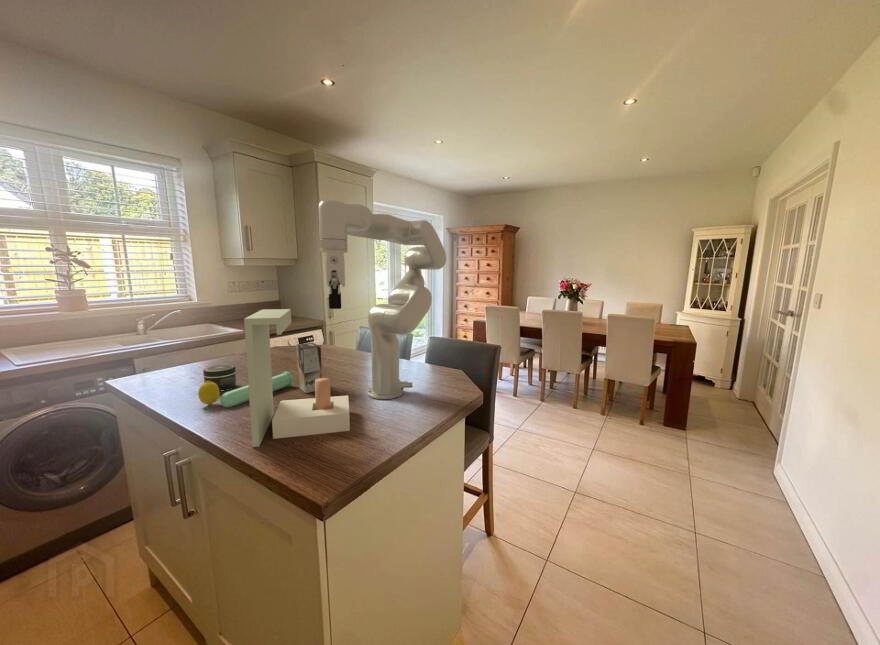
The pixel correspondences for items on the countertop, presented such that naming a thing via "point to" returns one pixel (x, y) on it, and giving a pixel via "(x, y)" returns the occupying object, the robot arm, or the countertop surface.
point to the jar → (221, 376)
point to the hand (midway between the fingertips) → (335, 307)
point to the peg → (322, 393)
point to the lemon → (208, 393)
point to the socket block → (310, 417)
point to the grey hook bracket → (261, 366)
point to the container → (243, 392)
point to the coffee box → (308, 366)
